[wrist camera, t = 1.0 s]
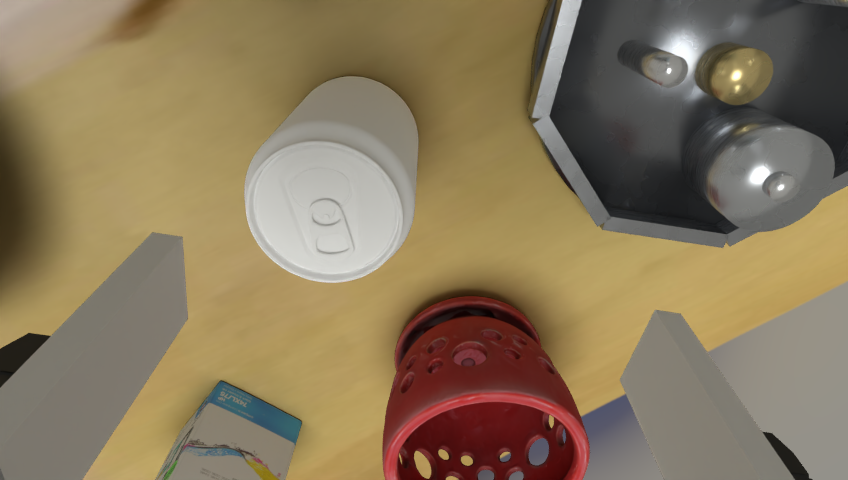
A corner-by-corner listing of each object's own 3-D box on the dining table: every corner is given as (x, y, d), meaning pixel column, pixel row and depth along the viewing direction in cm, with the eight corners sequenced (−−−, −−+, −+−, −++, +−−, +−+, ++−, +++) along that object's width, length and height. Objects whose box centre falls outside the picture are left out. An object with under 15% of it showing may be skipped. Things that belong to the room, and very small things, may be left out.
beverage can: (410, 67, 31) (401, 119, 21) (425, 187, 35) (423, 284, 25) (282, 81, 32) (210, 140, 21) (310, 199, 36) (260, 298, 25)
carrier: (595, -200, 25) (649, -253, 19) (999, -116, 27) (1170, -139, 20) (495, 201, 36) (509, 250, 29) (790, 245, 37) (861, 301, 31)
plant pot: (440, 421, 46) (444, 556, 36) (361, 320, 41) (338, 444, 30) (575, 368, 43) (623, 499, 32) (509, 250, 38) (541, 362, 27)
